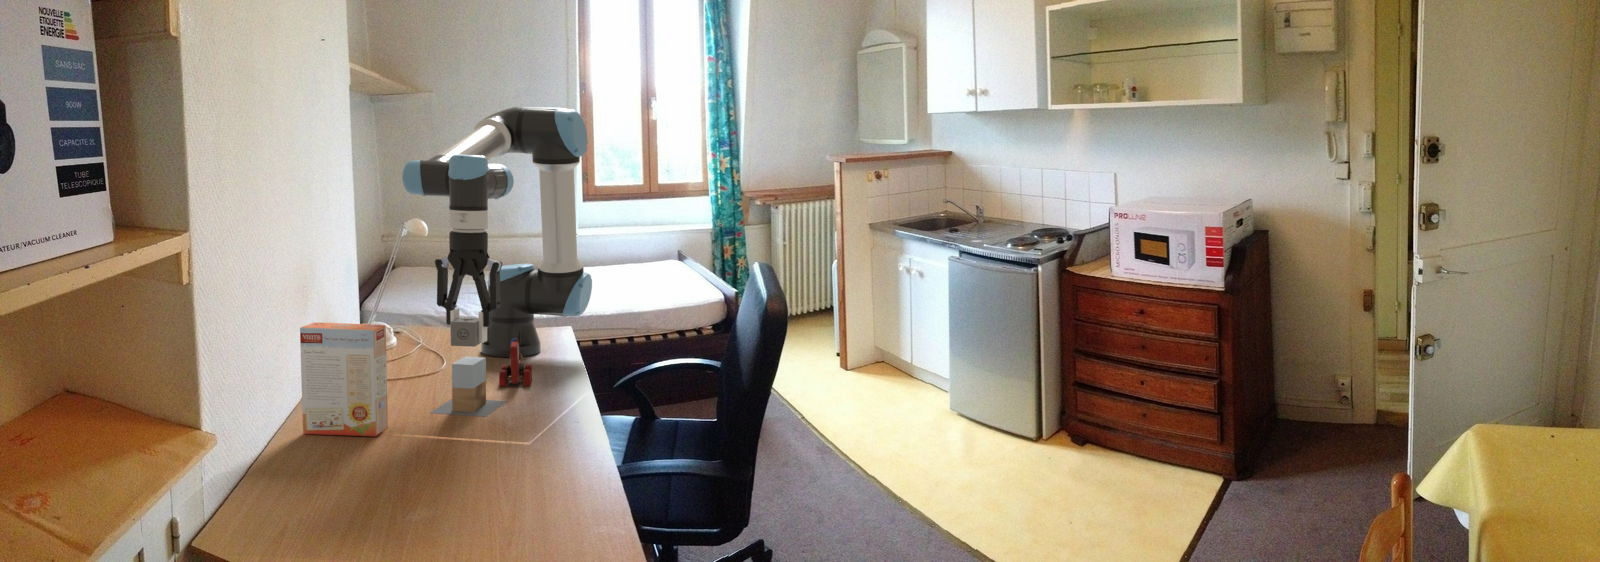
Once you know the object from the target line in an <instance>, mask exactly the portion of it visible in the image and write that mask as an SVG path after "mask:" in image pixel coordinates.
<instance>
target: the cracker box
mask: <svg viewBox="0 0 1600 562" xmlns="http://www.w3.org/2000/svg"><path fill="white" fill-rule="evenodd" d="M386 327H387V326H386V325H385V324H372V323H371V324H367V323H345V322H340V323H339V322H311V323H309V324H306V325H304V326H301V327H299V334H300V336H299V340H300V343H299V345H300V373H301V376H300V377H301V379H300V380H301V405H302V406H301V407H302V408H301V410H302V433H303V434H304V435H322V436H323V435H326V436H349V437H350V436H352V437H354V436H355V437H372V438H373V437H374V438H375V437H377V436H379V435H380V434H382V432H384V431H385V430H387V429H388V428H389V425H388V423H389V422H388V420H389V419H388V418H389V417H388V416H389V415H388V376H387V374H388V370H387V368H388V365H387V333H386V332H387V331H386V330H387V329H386Z"/></svg>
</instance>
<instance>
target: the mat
mask: <svg viewBox="0 0 1600 562" xmlns="http://www.w3.org/2000/svg"><path fill="white" fill-rule="evenodd" d="M506 403H508V400H496V399H495V400H494V399H493V400H492V399H486V404H484V405H483V406H481V407H480V408H478V409H477V410H475V411H474V412H464V411H452V398H451V399H449V400H448V401H446V402H445V403H443V404H441V405H440V406H438V407H436V408H434V409H433V410H432V411H430V412H429V414H435V415H436V414H437V415H452V416H465V417H466V416H470V417H483V418H486V417H488V416H489V415H491V414H492V413H493V412H495V411H496V410H498V409H499V408H500V407H502V406H503V405H505V404H506Z"/></svg>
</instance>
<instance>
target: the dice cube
mask: <svg viewBox="0 0 1600 562" xmlns="http://www.w3.org/2000/svg"><path fill="white" fill-rule="evenodd" d="M479 345H481V343H479V317H478V318H477V317H473V318H472V317H459V318H457V319H455V320H453V321H451V330H450V346H451V347H477V346H479Z"/></svg>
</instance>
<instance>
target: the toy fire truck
mask: <svg viewBox="0 0 1600 562" xmlns="http://www.w3.org/2000/svg"><path fill="white" fill-rule="evenodd" d="M510 344H511V347H510V356H509V357H508V359H509V363H508V365H507V364H502V365H501V369H500V370H499V375H498V380H499V381H498V383H499V388H505V387H507V385H508V382H511V384H512V385H515V384H519V383H520V382H522V383H523V385H522V386H523V387H524V388H525V387H531V384H532V383H531V382H532V381H533V366H532V364H524V363H523V362H522V361H523V356H522V355H521V353H520V352H519V344H520V343H519V340H518V339H516V338H514V339H512V340H511V342H510Z"/></svg>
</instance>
